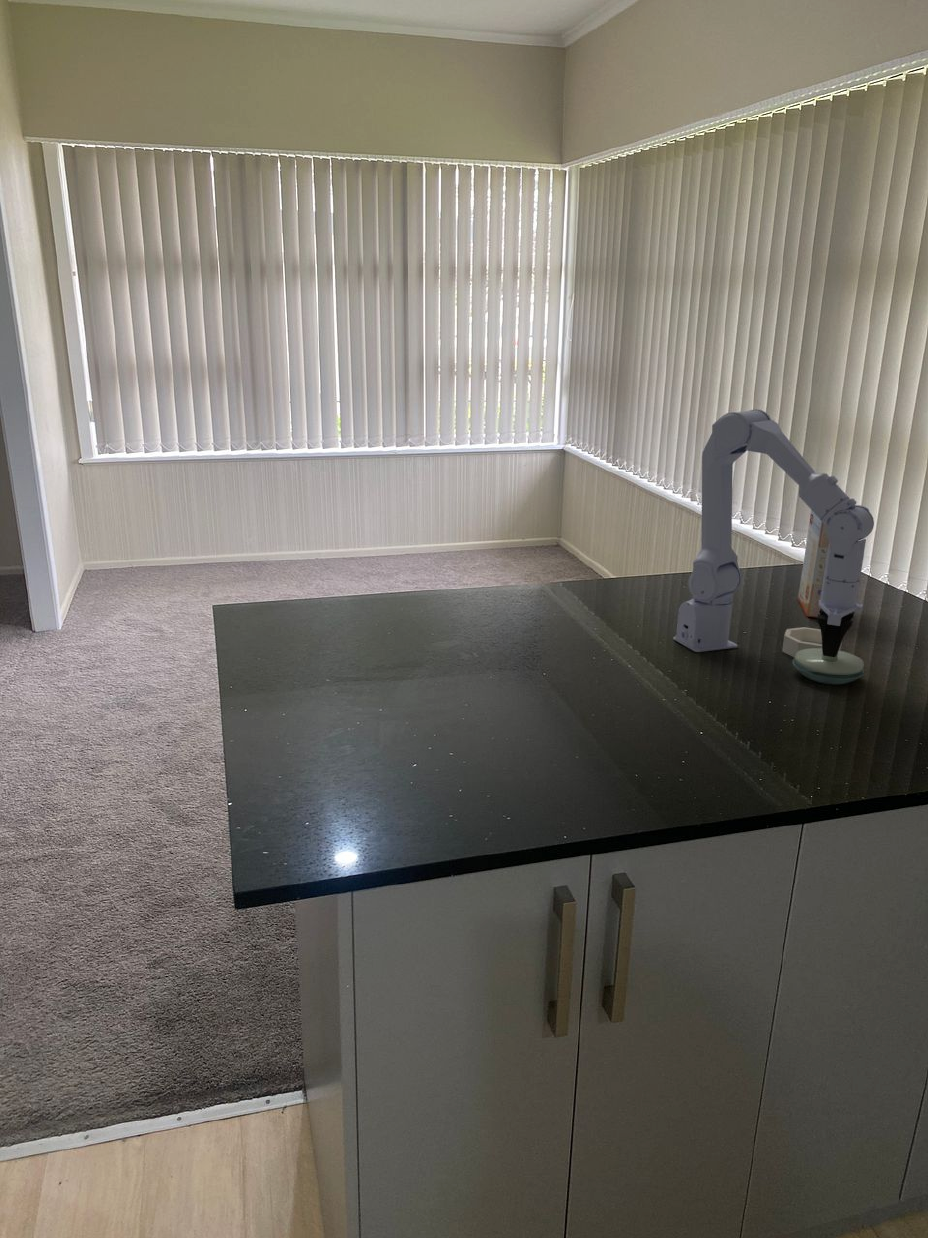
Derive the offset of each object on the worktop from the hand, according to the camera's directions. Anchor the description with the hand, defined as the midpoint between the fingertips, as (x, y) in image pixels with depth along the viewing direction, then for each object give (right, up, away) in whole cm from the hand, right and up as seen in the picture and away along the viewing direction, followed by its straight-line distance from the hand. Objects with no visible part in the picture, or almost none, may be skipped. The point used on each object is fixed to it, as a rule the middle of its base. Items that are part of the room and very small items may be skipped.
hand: (829, 653), depth 164 cm
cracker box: (+12, +8, +40) cm, 42 cm away
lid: (0, -2, +1) cm, 2 cm away
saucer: (0, -5, +1) cm, 5 cm away
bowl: (+2, 0, +13) cm, 13 cm away
